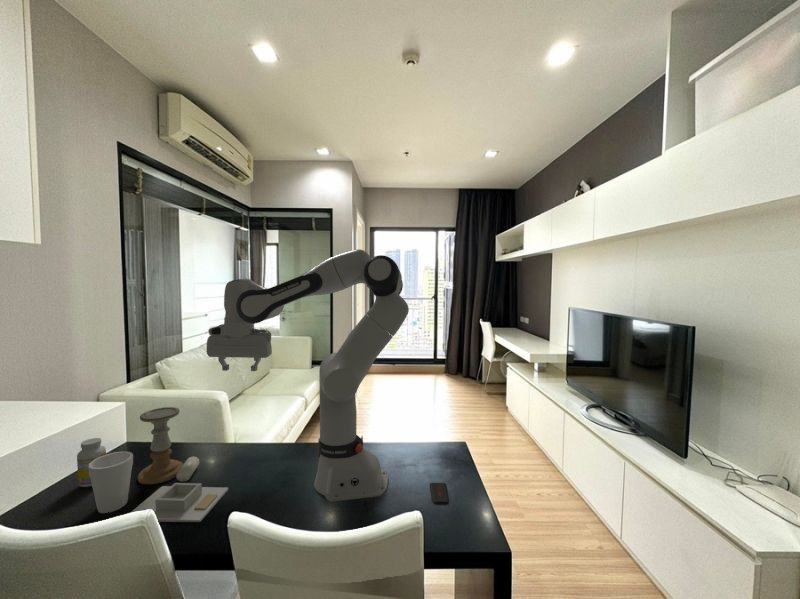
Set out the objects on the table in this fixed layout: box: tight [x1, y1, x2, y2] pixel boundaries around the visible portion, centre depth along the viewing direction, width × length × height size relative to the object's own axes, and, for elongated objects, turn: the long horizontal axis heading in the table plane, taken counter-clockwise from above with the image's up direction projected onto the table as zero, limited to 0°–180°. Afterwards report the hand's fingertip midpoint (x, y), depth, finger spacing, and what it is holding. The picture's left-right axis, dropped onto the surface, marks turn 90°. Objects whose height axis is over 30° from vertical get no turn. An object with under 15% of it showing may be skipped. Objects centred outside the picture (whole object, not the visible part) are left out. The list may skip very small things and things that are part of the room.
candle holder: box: [137, 406, 184, 485], centre depth 110 cm, size 12×12×20 cm
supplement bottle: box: [76, 437, 107, 488], centre depth 106 cm, size 7×7×13 cm
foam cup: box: [89, 451, 134, 514], centre depth 95 cm, size 10×9×13 cm
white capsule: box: [175, 456, 200, 483], centre depth 111 cm, size 4×4×9 cm
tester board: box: [131, 482, 229, 523], centre depth 95 cm, size 20×14×4 cm
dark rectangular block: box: [429, 482, 450, 505], centre depth 99 cm, size 5×12×3 cm, turn 179°
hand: (239, 370), depth 113 cm, fingers open, 8 cm apart
